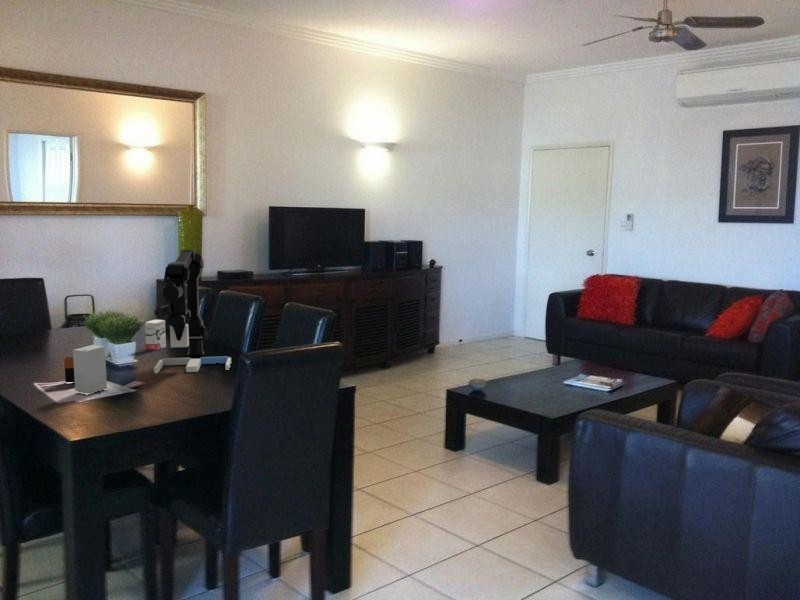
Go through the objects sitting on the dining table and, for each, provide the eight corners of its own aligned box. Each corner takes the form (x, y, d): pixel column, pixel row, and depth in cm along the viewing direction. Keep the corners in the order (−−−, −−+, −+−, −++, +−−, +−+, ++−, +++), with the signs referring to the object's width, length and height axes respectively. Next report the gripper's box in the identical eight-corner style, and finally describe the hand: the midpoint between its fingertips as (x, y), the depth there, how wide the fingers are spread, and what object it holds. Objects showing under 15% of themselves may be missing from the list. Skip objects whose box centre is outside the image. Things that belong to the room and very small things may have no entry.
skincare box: (94, 388, 241) (92, 344, 239) (108, 390, 239) (106, 345, 237) (74, 394, 234) (71, 348, 232) (87, 396, 231) (85, 350, 229)
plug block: (172, 345, 271) (171, 324, 270) (188, 344, 272) (188, 323, 271) (170, 347, 267) (169, 326, 266) (187, 346, 268) (186, 325, 267)
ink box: (156, 350, 303) (155, 322, 302) (145, 350, 304) (144, 322, 303) (166, 346, 312) (165, 319, 310) (155, 346, 313) (154, 319, 311)
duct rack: (160, 364, 276) (159, 358, 276) (231, 362, 280) (231, 356, 280) (154, 373, 262) (153, 366, 262) (228, 370, 267) (228, 363, 266)
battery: (87, 383, 248) (85, 354, 246) (65, 385, 245) (63, 356, 244) (88, 380, 252) (86, 352, 250) (66, 382, 249) (64, 353, 248)
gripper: (159, 295, 275) (161, 335, 277) (150, 301, 257) (152, 344, 259) (190, 294, 277) (191, 334, 279) (183, 300, 258) (184, 343, 260)
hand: (179, 339), depth 269 cm, fingers closed on plug block, 4 cm apart
